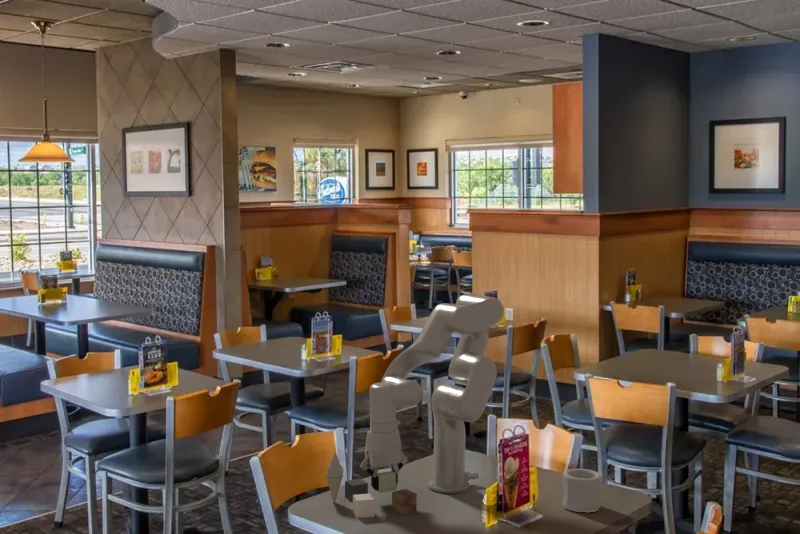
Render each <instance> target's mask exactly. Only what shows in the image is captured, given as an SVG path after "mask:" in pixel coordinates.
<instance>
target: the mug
mask: <svg viewBox="0 0 800 534" xmlns="http://www.w3.org/2000/svg"><path fill="white" fill-rule="evenodd" d="M561 483H562V486H561V487H562V506H563V508H564V509H565V508H566V509H565V510H567V509H568V510H567V511H569V510H572V511H580V512H581V511H583V512H584V511H585V512H586V511H592V510H596V509H599V508H600V509H601V507H600V506H601V505H602V504H601V490H602V489H601V488H602V475H601V474H600V473H599V472H598V471H596V470H592V469H586V468H570V469H567V470H565V471H564V472H563V473H562V482H561ZM572 511H571V512H572Z"/></svg>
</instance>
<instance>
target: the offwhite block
mask: <svg viewBox="0 0 800 534" xmlns="http://www.w3.org/2000/svg"><path fill="white" fill-rule="evenodd" d="M375 500H376V499H375V498H374V496H373V495H372V494H371V493H368V494H357V495H353V502H352V513H353V515H354V517H356V519H364V517H365V518H374V517H375V514H376V513H375V511H376V510H375V504H376V503H375V502H376V501H375Z"/></svg>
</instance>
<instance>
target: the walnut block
mask: <svg viewBox="0 0 800 534" xmlns="http://www.w3.org/2000/svg"><path fill="white" fill-rule="evenodd" d="M417 498H418V494H417V493H416V492H414V491H412V490H410V489H407V488H405V489H400V490H394V491H391V509H392V510H393V511H395V512H398V513H399V514H400V515H404V514H405V515H406V514H408V513H409V514H410V513H413V512H417V507H418V506H417V504H418V501H417V500H418V499H417Z"/></svg>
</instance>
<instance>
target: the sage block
mask: <svg viewBox="0 0 800 534" xmlns="http://www.w3.org/2000/svg"><path fill="white" fill-rule="evenodd" d="M377 477H378V478H379V490H378V491H377V492H378V493H380V494H382V493H388V492H394V491H397V487H396V473H395V472H394V471H392V469H391V468H389V467H388V468H381V469H378V473H377Z"/></svg>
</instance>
